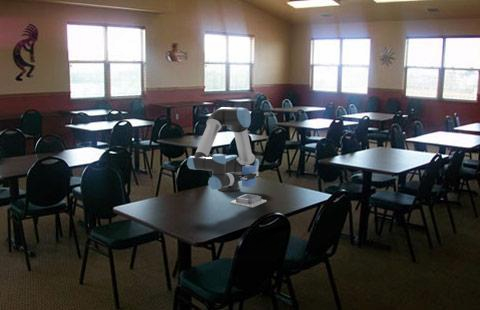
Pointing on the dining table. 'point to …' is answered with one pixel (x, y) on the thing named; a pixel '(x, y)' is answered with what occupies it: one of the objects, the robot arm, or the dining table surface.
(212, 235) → the dining table surface
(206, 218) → the dining table surface
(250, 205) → the white square socket base
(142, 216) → the dining table surface
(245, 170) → the blue drink carton
